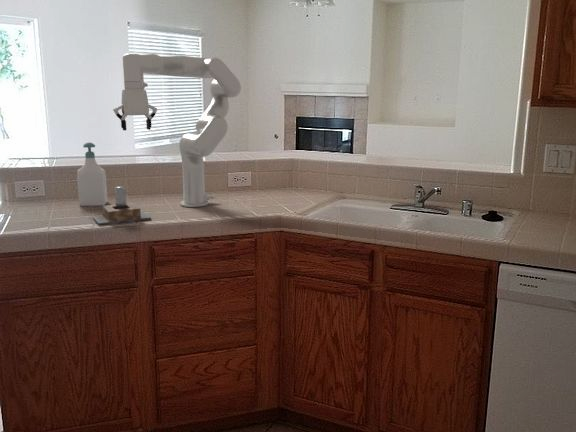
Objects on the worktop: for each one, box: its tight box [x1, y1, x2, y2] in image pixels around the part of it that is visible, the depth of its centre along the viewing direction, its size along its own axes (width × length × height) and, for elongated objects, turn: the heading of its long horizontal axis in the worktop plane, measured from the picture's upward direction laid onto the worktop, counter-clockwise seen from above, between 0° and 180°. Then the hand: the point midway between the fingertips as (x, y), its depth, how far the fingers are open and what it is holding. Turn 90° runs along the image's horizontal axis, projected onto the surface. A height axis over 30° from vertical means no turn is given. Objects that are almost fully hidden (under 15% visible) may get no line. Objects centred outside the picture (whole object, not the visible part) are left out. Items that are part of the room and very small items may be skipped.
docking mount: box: [92, 202, 152, 227], centre depth 216 cm, size 20×12×5 cm, turn 119°
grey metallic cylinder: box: [114, 185, 127, 209], centre depth 215 cm, size 4×4×12 cm
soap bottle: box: [76, 141, 109, 207], centre depth 242 cm, size 11×8×27 cm
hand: (136, 129), depth 220 cm, fingers open, 9 cm apart
